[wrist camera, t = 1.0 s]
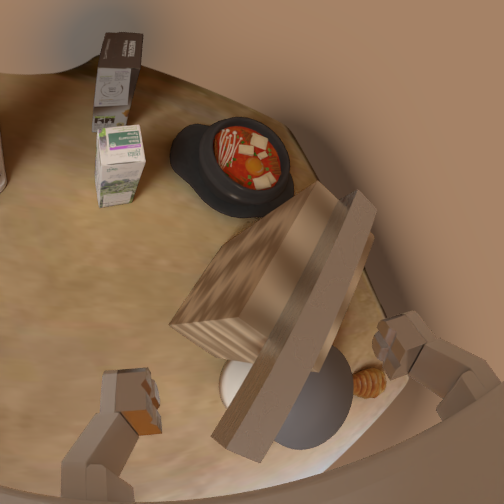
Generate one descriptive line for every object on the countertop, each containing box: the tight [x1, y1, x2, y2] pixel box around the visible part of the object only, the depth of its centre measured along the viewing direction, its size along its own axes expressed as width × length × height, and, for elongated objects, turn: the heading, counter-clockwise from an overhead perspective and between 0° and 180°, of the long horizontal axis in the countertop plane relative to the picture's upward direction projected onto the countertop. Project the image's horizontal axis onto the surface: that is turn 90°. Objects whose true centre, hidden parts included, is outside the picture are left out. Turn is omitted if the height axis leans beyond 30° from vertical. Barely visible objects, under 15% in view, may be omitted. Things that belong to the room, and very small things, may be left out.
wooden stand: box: [169, 181, 375, 372], centre depth 39 cm, size 16×9×26 cm, turn 148°
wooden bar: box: [211, 190, 377, 463], centre depth 25 cm, size 25×3×3 cm, turn 148°
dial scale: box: [219, 345, 354, 450], centre depth 44 cm, size 15×15×15 cm
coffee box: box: [92, 32, 143, 132], centre depth 42 cm, size 9×6×16 cm
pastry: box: [352, 368, 386, 399], centre depth 59 cm, size 9×7×4 cm
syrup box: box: [95, 125, 146, 208], centre depth 41 cm, size 6×6×14 cm
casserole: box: [170, 117, 294, 218], centre depth 54 cm, size 25×19×8 cm
